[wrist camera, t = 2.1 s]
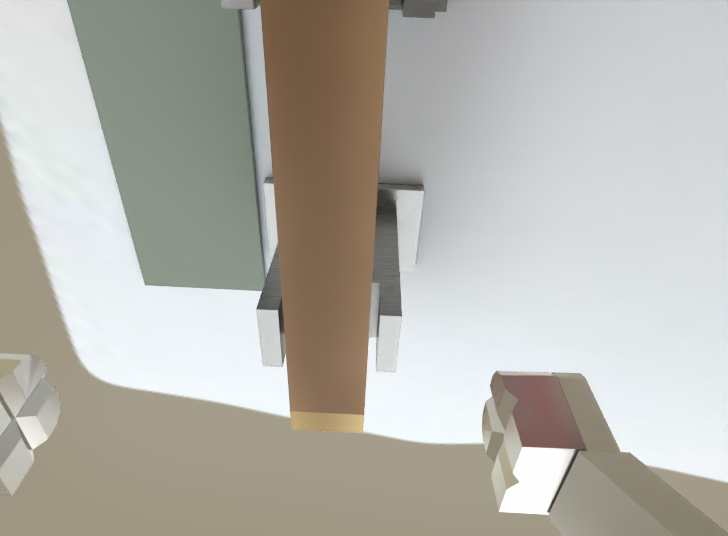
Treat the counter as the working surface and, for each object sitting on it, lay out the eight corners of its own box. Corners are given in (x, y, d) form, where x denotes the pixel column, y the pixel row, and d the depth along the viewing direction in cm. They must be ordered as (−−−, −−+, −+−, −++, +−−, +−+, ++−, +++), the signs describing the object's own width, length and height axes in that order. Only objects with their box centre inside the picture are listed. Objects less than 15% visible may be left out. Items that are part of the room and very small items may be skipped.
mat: (216, -239, 16) (212, -242, 16) (266, 286, 29) (265, 291, 29) (5, -249, 16) (-2, -252, 16) (147, 280, 29) (145, 285, 29)
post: (423, 185, 25) (440, 297, 18) (413, 266, 28) (425, 390, 21) (265, 178, 25) (217, 286, 18) (272, 259, 28) (233, 381, 21)
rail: (403, -287, 11) (409, -345, 8) (364, 379, 23) (362, 433, 21) (267, -294, 11) (233, -353, 8) (301, 375, 23) (291, 429, 21)
